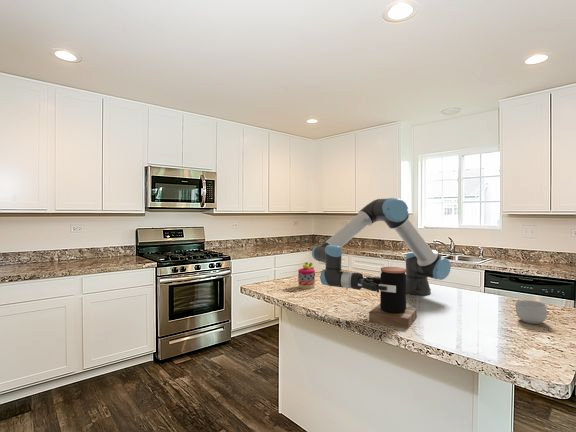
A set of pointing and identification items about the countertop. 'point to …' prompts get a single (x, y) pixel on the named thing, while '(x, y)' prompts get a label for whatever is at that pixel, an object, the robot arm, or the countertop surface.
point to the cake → (306, 277)
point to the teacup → (531, 311)
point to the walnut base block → (393, 317)
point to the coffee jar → (389, 299)
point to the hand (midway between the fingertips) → (400, 286)
